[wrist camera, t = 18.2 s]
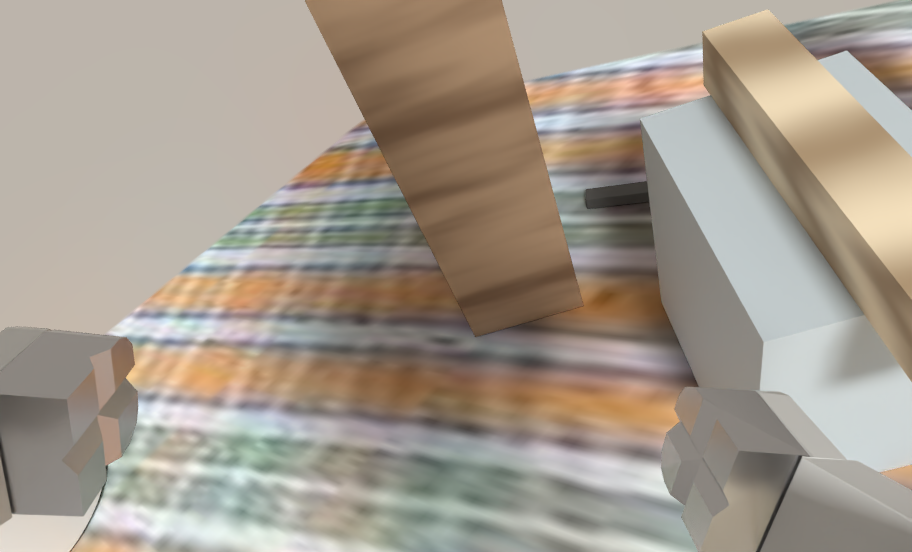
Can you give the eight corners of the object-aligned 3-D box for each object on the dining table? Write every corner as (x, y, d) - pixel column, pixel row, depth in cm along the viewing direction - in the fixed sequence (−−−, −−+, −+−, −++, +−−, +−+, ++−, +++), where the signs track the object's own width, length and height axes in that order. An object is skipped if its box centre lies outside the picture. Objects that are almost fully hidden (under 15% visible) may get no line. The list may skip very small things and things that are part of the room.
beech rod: (1071, 423, 18) (1118, 369, 16) (958, 449, 19) (990, 400, 16) (764, 65, 32) (767, 9, 29) (703, 85, 32) (702, 31, 30)
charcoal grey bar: (587, 208, 51) (585, 200, 50) (587, 198, 51) (585, 189, 51) (878, 173, 44) (881, 162, 44) (874, 161, 45) (876, 150, 44)
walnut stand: (583, 305, 45) (483, -68, 26) (475, 337, 46) (305, 1, 27) (555, 220, 51) (457, -134, 32) (460, 249, 52) (312, -75, 33)
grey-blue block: (950, 455, 32) (1072, 259, 21) (749, 502, 34) (763, 342, 23) (813, 258, 42) (846, 50, 30) (661, 301, 43) (639, 118, 32)
